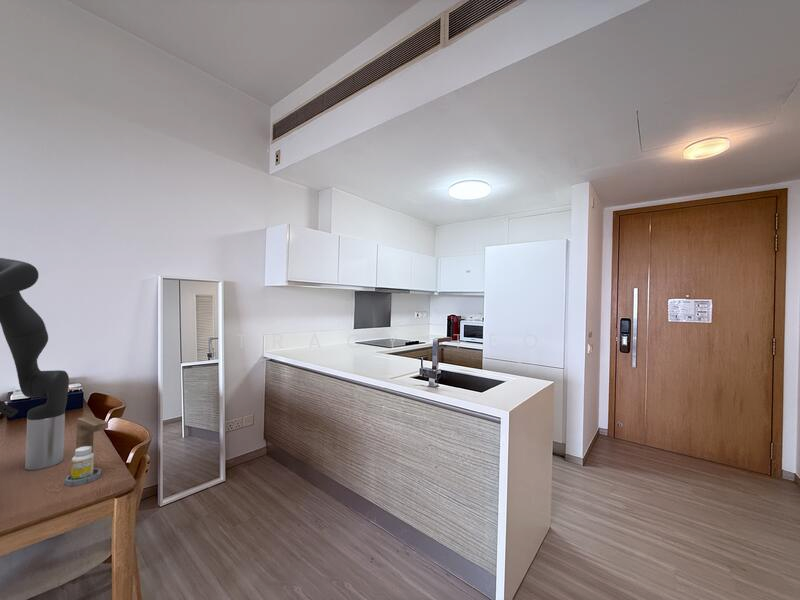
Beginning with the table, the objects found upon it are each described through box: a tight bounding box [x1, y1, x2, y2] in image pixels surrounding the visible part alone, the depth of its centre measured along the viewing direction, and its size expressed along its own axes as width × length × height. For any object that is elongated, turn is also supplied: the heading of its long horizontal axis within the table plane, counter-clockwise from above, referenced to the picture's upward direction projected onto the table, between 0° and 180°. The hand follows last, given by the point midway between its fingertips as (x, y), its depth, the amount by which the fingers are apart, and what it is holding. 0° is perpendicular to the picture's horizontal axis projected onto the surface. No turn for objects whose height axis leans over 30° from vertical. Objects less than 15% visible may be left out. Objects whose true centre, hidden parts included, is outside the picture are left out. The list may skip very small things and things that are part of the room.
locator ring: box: [64, 467, 102, 487], centre depth 108 cm, size 8×8×2 cm
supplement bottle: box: [70, 446, 95, 481], centre depth 108 cm, size 5×5×10 cm
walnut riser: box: [75, 415, 109, 453], centre depth 111 cm, size 4×13×18 cm, turn 63°
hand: (9, 411), depth 94 cm, fingers open, 8 cm apart
